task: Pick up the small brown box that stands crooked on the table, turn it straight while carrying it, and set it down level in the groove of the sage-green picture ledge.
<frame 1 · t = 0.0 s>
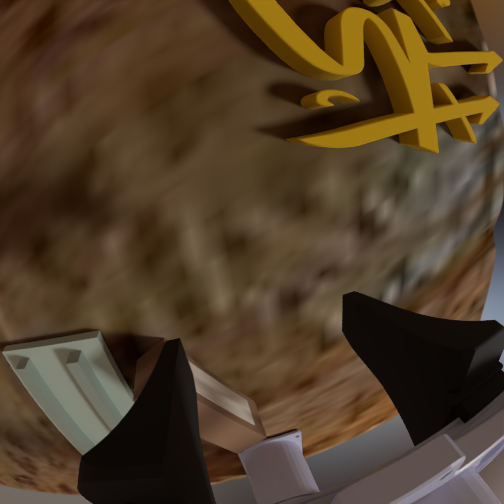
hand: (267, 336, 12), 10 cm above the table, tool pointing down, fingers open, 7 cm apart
ledge: (90, 408, 24), on the table
brown box: (199, 383, 25), on the table
decorative art: (401, 39, 19), on the table
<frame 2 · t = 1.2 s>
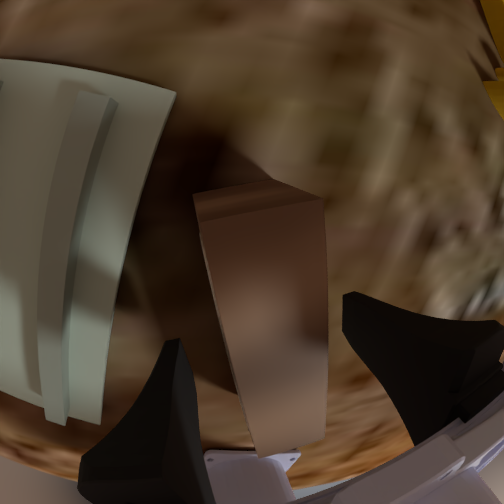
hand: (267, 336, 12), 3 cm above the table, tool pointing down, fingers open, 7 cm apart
ledge: (17, 262, 11), on the table
brown box: (252, 306, 15), on the table
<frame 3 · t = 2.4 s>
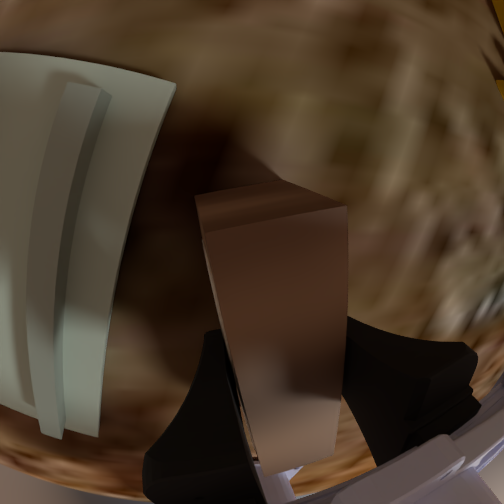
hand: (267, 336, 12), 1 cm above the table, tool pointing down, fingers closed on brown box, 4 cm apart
ledge: (6, 269, 10), on the table
brown box: (258, 317, 14), on the table, touching gripper
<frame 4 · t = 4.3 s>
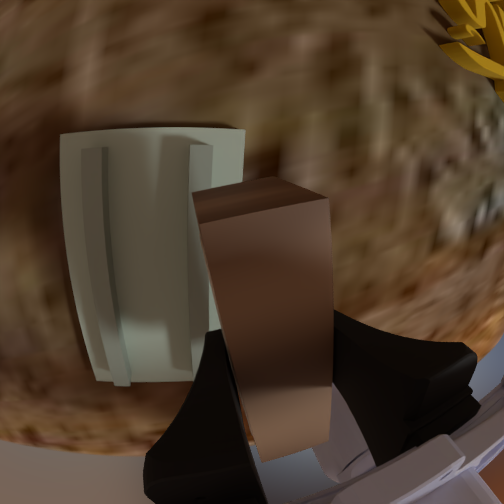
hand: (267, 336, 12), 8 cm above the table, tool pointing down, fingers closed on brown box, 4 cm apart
ledge: (151, 270, 19), on the table
brown box: (254, 307, 14), point 6 cm above the table, touching gripper
decorative art: (494, 29, 18), on the table
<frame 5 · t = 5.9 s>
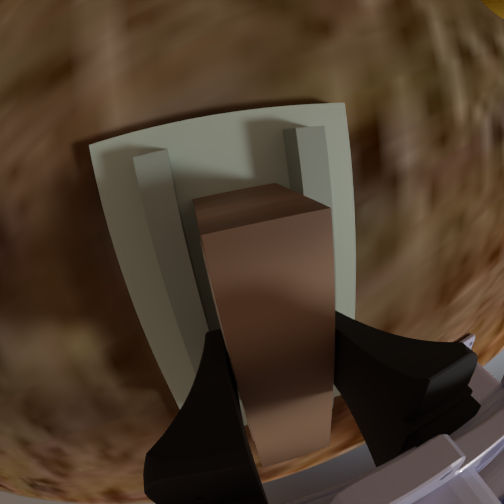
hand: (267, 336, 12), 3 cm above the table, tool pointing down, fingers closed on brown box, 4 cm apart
ledge: (250, 299, 15), on the table
brown box: (255, 313, 14), point 1 cm above the table, touching gripper, ledge
when the fingers open (3 cm above the table, at t = 6.6 s): brown box stays where it is, resting on ledge.
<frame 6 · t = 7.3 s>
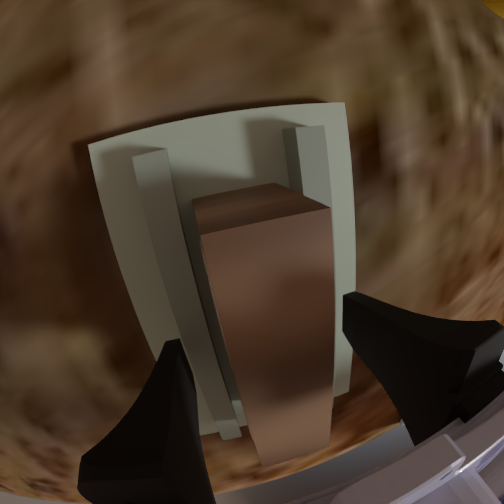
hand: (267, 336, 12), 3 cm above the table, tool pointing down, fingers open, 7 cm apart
ledge: (250, 299, 15), on the table
brown box: (255, 313, 14), point 1 cm above the table, touching ledge
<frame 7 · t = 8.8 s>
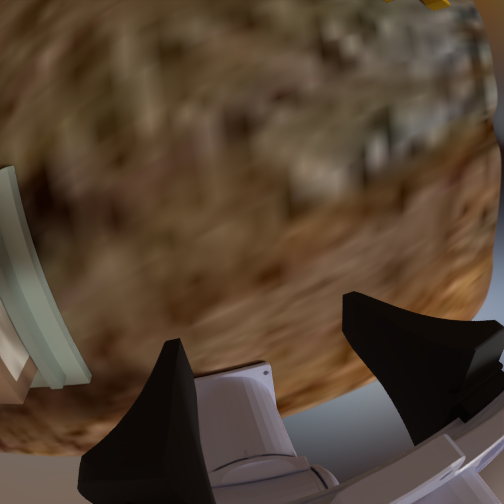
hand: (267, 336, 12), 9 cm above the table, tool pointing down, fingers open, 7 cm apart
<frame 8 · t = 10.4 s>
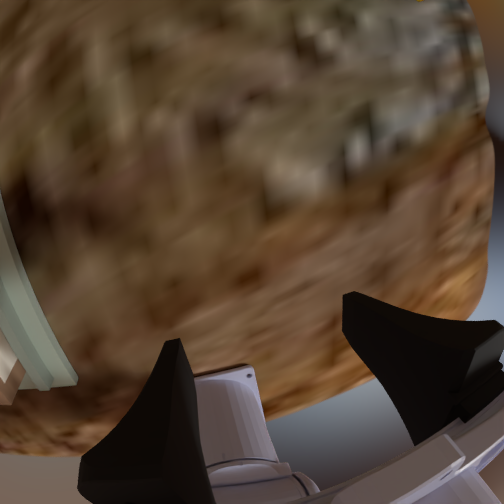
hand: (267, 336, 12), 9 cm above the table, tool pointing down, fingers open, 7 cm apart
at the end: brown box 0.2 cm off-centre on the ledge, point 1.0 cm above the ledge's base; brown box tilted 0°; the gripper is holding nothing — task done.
